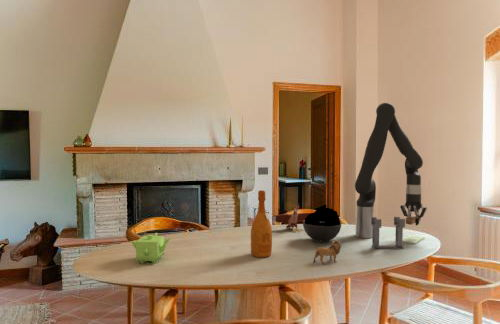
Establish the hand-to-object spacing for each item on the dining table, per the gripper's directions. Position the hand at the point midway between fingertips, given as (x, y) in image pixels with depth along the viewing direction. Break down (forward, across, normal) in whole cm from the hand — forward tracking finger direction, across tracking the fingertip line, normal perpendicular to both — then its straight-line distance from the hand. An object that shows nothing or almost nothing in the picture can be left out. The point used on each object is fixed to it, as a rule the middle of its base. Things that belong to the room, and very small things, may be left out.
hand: (413, 224), depth 200 cm
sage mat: (+9, +1, 0) cm, 9 cm away
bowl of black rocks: (+8, +36, +36) cm, 51 cm away
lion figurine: (+9, +16, +65) cm, 67 cm away
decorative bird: (+8, +61, +25) cm, 66 cm away
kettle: (+8, +74, +115) cm, 137 cm away
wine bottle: (+8, +44, +77) cm, 89 cm away
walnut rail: (-1, 0, 0) cm, 1 cm away
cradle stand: (+9, +5, +25) cm, 27 cm away
